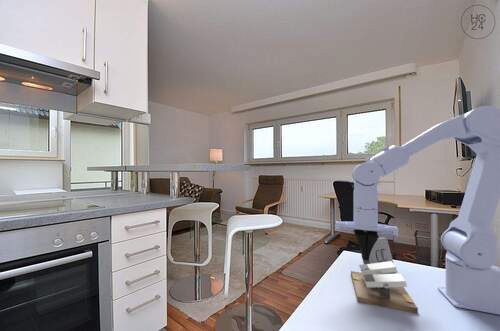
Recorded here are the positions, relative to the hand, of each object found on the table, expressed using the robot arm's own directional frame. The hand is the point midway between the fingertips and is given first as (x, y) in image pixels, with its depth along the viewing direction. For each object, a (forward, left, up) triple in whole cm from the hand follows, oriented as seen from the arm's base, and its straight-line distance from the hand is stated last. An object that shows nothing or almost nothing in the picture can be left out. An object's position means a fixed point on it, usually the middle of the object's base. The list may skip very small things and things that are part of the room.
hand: (365, 259), depth 57 cm
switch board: (-3, +3, -6) cm, 8 cm away
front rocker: (-3, +6, -2) cm, 7 cm away
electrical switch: (-5, -10, -7) cm, 13 cm away
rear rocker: (-3, 0, -2) cm, 4 cm away
